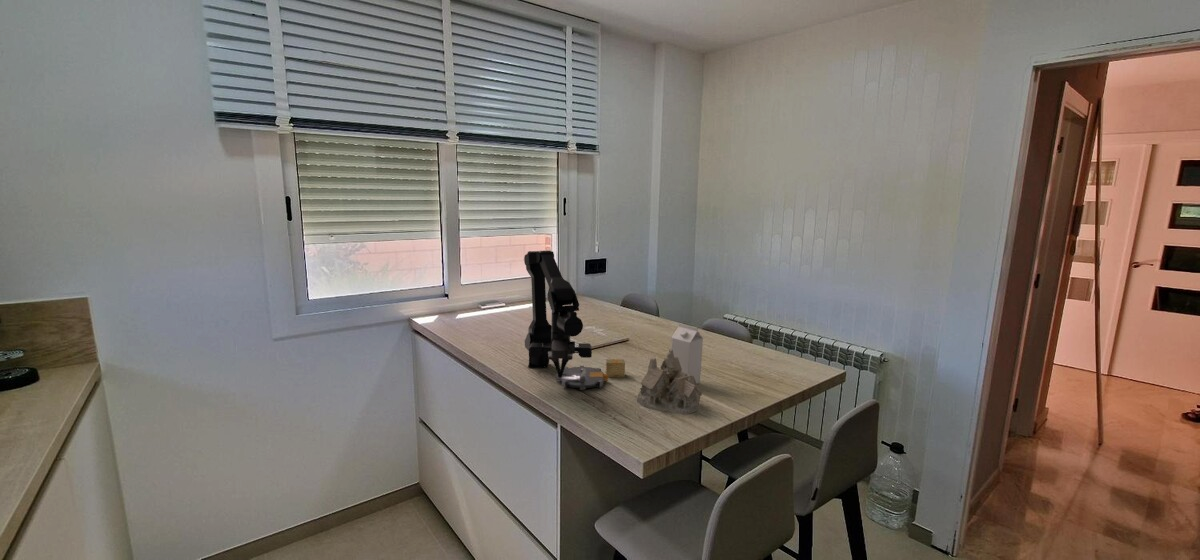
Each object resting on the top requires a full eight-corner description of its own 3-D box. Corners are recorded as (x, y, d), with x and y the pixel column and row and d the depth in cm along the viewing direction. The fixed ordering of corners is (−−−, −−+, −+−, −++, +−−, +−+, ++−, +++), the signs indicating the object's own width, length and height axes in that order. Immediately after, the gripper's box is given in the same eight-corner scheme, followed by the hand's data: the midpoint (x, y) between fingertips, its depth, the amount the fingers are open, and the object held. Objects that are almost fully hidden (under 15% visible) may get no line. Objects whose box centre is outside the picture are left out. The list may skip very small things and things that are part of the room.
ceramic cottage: (630, 395, 142) (636, 348, 138) (678, 391, 148) (684, 345, 145) (655, 421, 127) (661, 369, 124) (706, 415, 134) (714, 365, 130)
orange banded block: (606, 377, 156) (606, 362, 155) (605, 373, 160) (606, 359, 159) (624, 377, 157) (625, 362, 156) (623, 373, 160) (623, 359, 159)
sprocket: (555, 389, 143) (555, 371, 142) (557, 370, 159) (557, 353, 158) (609, 390, 144) (610, 371, 143) (606, 371, 160) (606, 354, 159)
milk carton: (682, 377, 158) (685, 321, 155) (700, 383, 153) (704, 326, 150) (668, 382, 153) (672, 325, 150) (687, 388, 148) (691, 329, 145)
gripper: (526, 334, 134) (526, 386, 137) (593, 335, 135) (591, 387, 138) (530, 324, 145) (530, 373, 148) (591, 325, 146) (590, 373, 149)
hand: (560, 377), depth 145 cm, fingers closed
